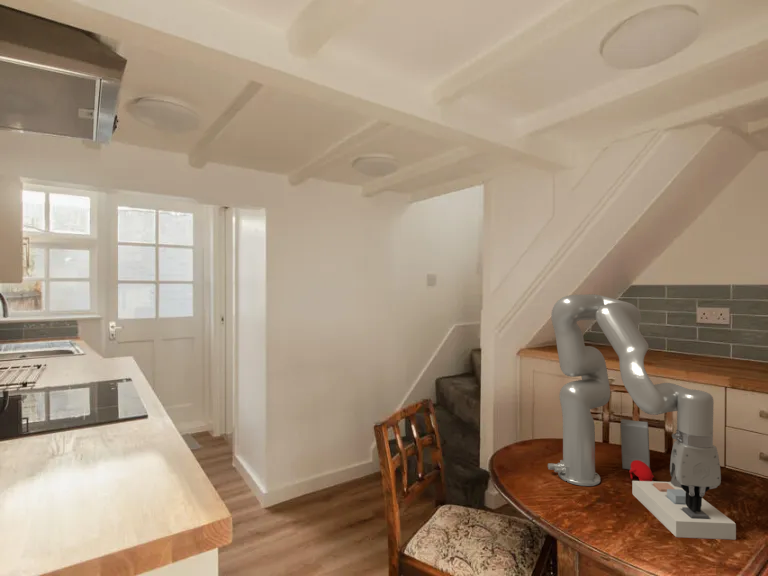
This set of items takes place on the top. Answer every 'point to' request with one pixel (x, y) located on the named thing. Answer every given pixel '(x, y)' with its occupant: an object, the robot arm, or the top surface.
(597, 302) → the robot arm
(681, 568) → the top surface
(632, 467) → the cap
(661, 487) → the terracotta button
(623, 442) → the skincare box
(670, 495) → the slate button
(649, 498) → the button panel
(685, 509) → the charcoal button
